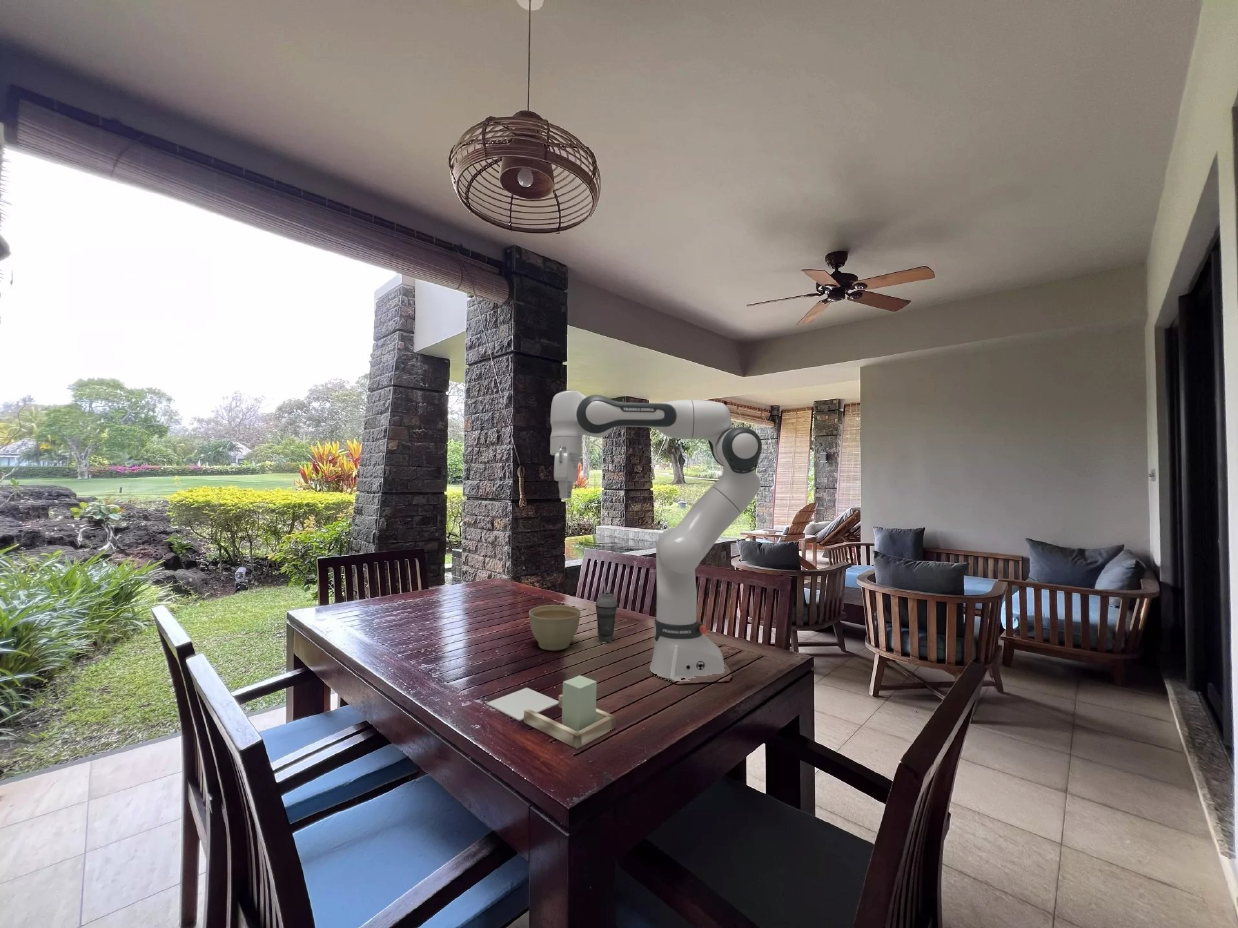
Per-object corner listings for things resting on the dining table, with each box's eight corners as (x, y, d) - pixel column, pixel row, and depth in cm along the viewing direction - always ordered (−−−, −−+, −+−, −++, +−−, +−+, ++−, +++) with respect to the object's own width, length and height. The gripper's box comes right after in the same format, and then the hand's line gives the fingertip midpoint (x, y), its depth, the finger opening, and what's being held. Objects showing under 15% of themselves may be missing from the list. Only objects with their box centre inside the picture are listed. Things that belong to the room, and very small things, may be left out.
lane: (523, 721, 110) (524, 710, 110) (562, 704, 119) (562, 694, 119) (577, 748, 100) (577, 735, 100) (615, 727, 108) (615, 716, 108)
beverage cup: (608, 646, 161) (610, 582, 162) (589, 641, 165) (591, 579, 166) (620, 640, 167) (622, 579, 168) (602, 636, 171) (603, 576, 172)
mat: (486, 704, 118) (486, 702, 118) (526, 688, 127) (526, 687, 127) (519, 720, 110) (519, 719, 110) (560, 703, 120) (560, 701, 120)
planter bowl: (518, 644, 161) (519, 609, 161) (560, 635, 172) (560, 602, 172) (547, 658, 149) (548, 621, 149) (590, 647, 160) (591, 612, 160)
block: (561, 729, 107) (562, 681, 107) (578, 721, 111) (579, 675, 111) (578, 738, 104) (579, 688, 104) (595, 729, 108) (596, 681, 108)
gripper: (572, 444, 132) (572, 498, 131) (581, 451, 152) (581, 498, 151) (548, 444, 132) (547, 498, 131) (560, 451, 152) (559, 498, 151)
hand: (565, 498), depth 141 cm, fingers open, 8 cm apart
